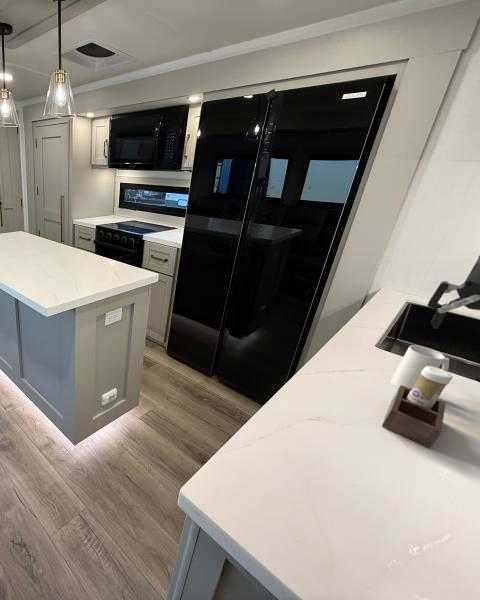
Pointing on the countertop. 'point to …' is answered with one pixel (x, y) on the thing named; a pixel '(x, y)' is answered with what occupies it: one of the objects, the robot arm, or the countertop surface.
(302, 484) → the countertop surface
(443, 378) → the sprinkles bottle
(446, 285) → the robot arm
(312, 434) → the countertop surface
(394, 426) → the rack
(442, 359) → the mug
